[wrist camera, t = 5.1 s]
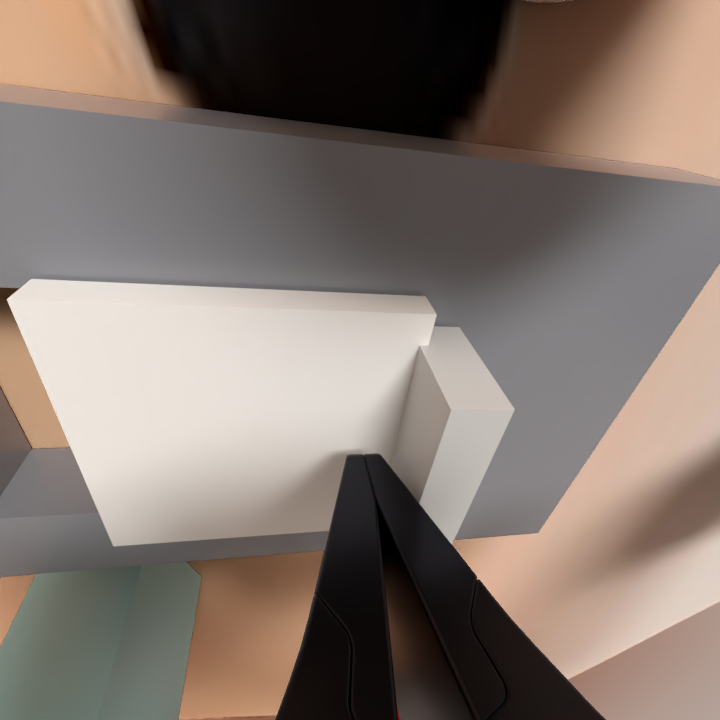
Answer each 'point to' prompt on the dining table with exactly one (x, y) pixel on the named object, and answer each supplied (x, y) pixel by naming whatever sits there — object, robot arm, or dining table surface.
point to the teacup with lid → (552, 0)
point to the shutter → (256, 403)
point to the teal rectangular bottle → (100, 645)
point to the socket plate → (350, 275)
